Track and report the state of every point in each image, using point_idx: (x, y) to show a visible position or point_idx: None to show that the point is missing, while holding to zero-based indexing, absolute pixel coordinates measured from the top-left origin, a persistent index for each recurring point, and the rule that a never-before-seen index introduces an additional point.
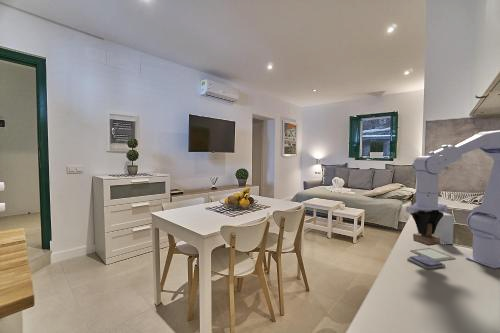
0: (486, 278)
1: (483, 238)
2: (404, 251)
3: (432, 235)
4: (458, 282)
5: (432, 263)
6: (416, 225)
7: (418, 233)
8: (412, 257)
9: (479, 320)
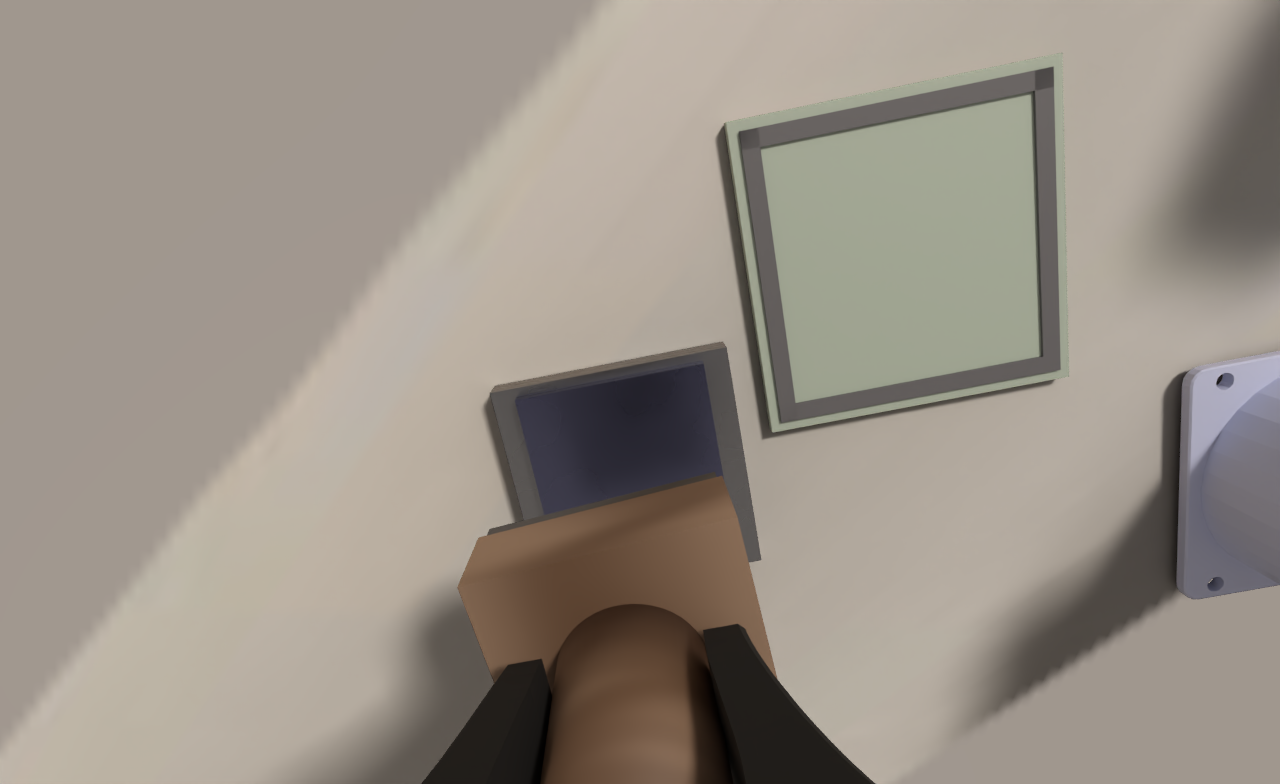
0: (906, 725)
1: None
2: (636, 129)
3: None
4: None
5: None
6: (437, 768)
7: (576, 568)
8: (529, 422)
9: None
